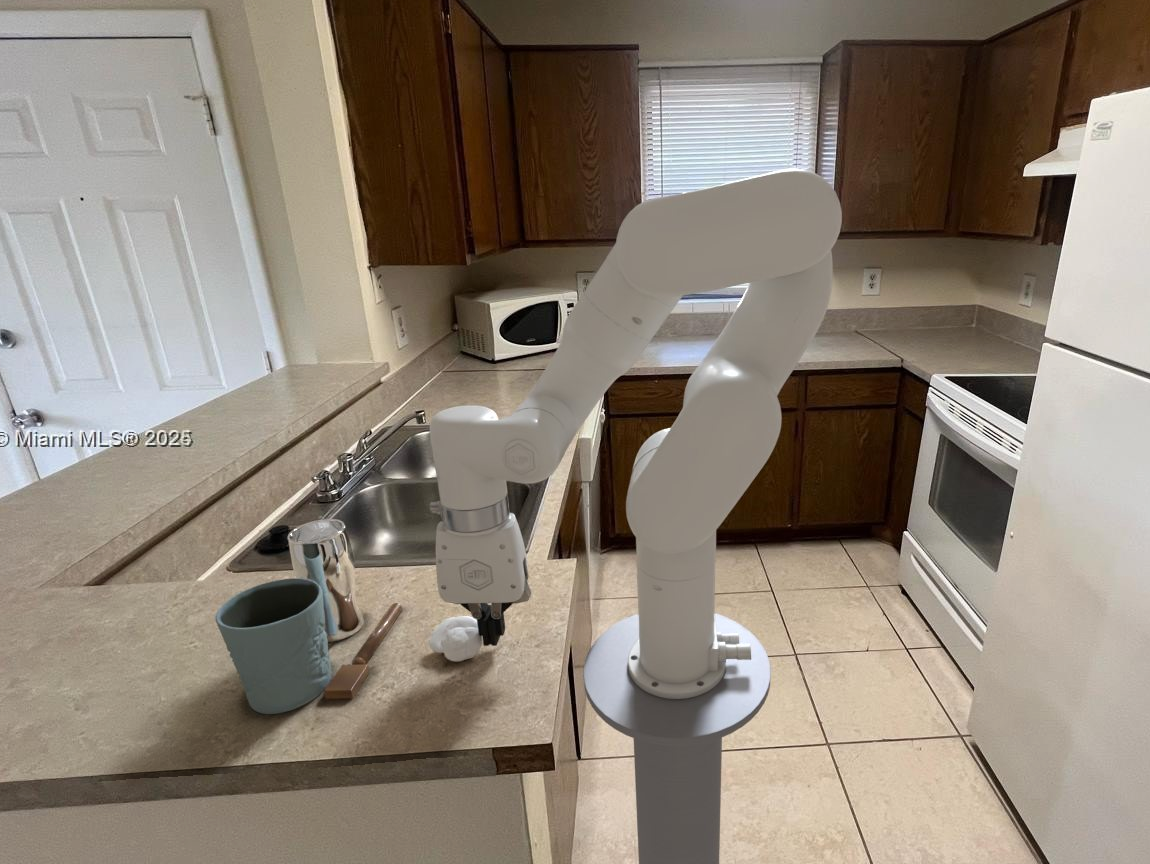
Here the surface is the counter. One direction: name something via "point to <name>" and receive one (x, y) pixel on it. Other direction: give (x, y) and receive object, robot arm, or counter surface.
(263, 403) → the counter surface
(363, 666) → the wooden spatula
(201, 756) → the counter surface
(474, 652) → the dumpling
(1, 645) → the counter surface
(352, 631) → the chrome tumbler
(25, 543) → the counter surface
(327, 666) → the teal embossed cup
